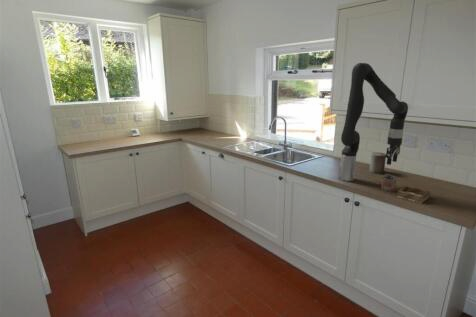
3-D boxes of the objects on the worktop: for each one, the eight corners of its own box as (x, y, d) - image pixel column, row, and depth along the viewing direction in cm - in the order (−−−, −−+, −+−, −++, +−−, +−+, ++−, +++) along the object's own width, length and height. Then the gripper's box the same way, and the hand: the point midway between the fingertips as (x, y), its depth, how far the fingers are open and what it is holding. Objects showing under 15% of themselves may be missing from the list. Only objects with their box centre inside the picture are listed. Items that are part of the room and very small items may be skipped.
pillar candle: (386, 172, 208) (389, 152, 205) (377, 174, 204) (380, 154, 201) (375, 169, 217) (377, 149, 213) (366, 170, 213) (368, 151, 209)
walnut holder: (396, 196, 167) (397, 190, 166) (404, 190, 175) (405, 185, 174) (421, 203, 158) (422, 197, 157) (428, 197, 166) (430, 191, 165)
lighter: (379, 189, 178) (381, 173, 175) (381, 187, 180) (383, 172, 178) (393, 192, 173) (396, 176, 170) (395, 191, 175) (398, 175, 172)
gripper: (393, 134, 175) (389, 159, 179) (383, 137, 166) (380, 164, 170) (406, 135, 169) (402, 162, 174) (397, 139, 160) (393, 166, 165)
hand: (391, 163), depth 172 cm, fingers open, 8 cm apart
